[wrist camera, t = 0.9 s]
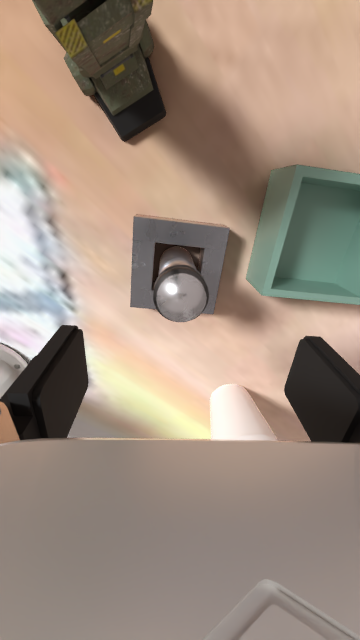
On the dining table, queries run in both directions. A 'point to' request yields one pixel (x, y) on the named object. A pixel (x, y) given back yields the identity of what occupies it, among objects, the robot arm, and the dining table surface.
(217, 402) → the foam cup
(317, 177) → the bin
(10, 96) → the dining table surface
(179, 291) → the metal peg
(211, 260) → the socket block
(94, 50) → the mechanical leg
